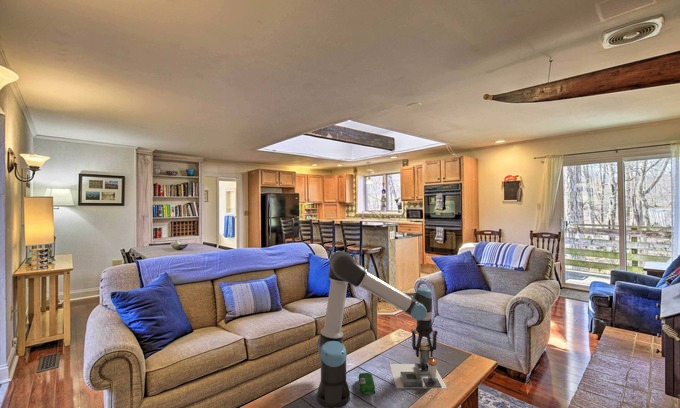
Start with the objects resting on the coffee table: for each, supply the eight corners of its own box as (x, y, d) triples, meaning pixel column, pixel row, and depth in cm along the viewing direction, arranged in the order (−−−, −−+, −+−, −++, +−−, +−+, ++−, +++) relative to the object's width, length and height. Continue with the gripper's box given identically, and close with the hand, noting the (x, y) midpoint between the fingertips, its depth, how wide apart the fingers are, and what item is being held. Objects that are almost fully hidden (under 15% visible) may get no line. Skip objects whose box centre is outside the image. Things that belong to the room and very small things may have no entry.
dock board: (396, 389, 149) (396, 388, 149) (389, 365, 171) (389, 363, 171) (447, 389, 149) (447, 388, 149) (433, 365, 171) (433, 364, 171)
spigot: (418, 365, 166) (418, 343, 166) (427, 365, 166) (427, 343, 166) (420, 370, 161) (420, 347, 161) (429, 370, 161) (429, 347, 161)
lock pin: (427, 380, 154) (427, 357, 154) (434, 380, 155) (434, 357, 155) (429, 384, 151) (429, 361, 151) (437, 384, 151) (437, 361, 151)
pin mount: (403, 387, 149) (403, 382, 149) (400, 376, 158) (400, 371, 158) (422, 387, 149) (422, 382, 149) (418, 376, 158) (418, 371, 158)
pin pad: (426, 387, 149) (426, 386, 149) (423, 379, 156) (423, 378, 156) (441, 387, 149) (441, 386, 149) (437, 379, 156) (437, 378, 156)
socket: (418, 375, 160) (418, 371, 160) (414, 366, 168) (414, 363, 168) (434, 375, 160) (434, 371, 160) (429, 366, 168) (429, 363, 168)
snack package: (360, 399, 142) (360, 388, 142) (357, 379, 157) (357, 369, 157) (375, 399, 142) (375, 388, 142) (371, 379, 157) (372, 369, 157)
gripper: (408, 321, 160) (408, 366, 160) (443, 321, 160) (443, 366, 160) (405, 315, 167) (405, 358, 167) (438, 315, 167) (438, 359, 167)
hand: (424, 362), depth 164 cm, fingers closed on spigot, 5 cm apart
